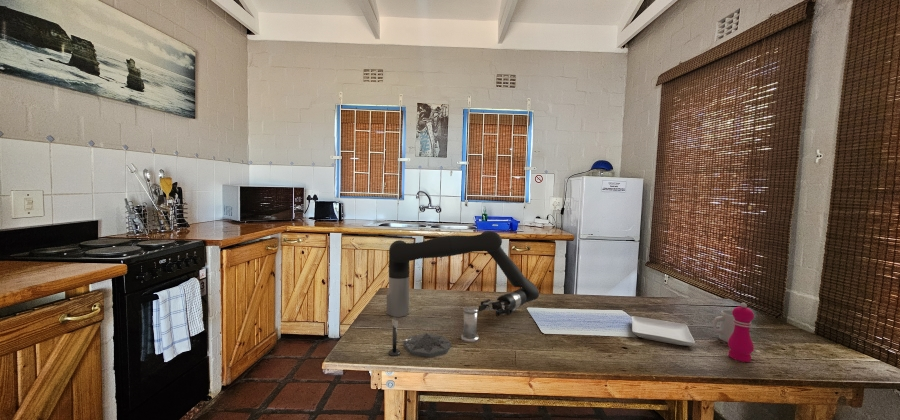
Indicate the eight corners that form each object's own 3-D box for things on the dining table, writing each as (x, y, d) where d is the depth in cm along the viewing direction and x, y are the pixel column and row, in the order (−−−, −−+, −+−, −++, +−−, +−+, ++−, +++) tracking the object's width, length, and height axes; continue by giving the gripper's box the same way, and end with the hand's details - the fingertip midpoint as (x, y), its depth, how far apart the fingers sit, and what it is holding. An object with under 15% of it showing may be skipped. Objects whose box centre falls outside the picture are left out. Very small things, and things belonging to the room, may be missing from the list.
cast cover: (458, 341, 139) (459, 310, 138) (463, 334, 145) (464, 305, 144) (476, 343, 137) (477, 312, 136) (480, 336, 143) (481, 307, 143)
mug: (735, 336, 150) (737, 310, 149) (751, 345, 141) (753, 317, 141) (705, 335, 150) (707, 309, 150) (719, 344, 142) (721, 316, 141)
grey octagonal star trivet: (398, 352, 128) (398, 348, 128) (415, 335, 143) (415, 331, 143) (441, 359, 123) (442, 355, 123) (454, 341, 139) (454, 337, 138)
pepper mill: (721, 353, 134) (725, 299, 132) (740, 353, 134) (744, 299, 133) (739, 362, 126) (743, 306, 125) (758, 362, 127) (762, 306, 126)
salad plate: (685, 331, 155) (686, 323, 155) (695, 351, 136) (695, 342, 135) (630, 322, 164) (630, 314, 164) (631, 339, 145) (632, 331, 144)
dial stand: (390, 357, 124) (391, 322, 123) (386, 352, 128) (387, 318, 127) (412, 352, 128) (413, 318, 127) (408, 348, 132) (408, 314, 131)
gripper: (495, 290, 166) (473, 298, 153) (523, 297, 156) (502, 306, 144) (495, 306, 166) (473, 316, 154) (523, 314, 157) (502, 324, 145)
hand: (487, 311), depth 149 cm, fingers open, 8 cm apart
